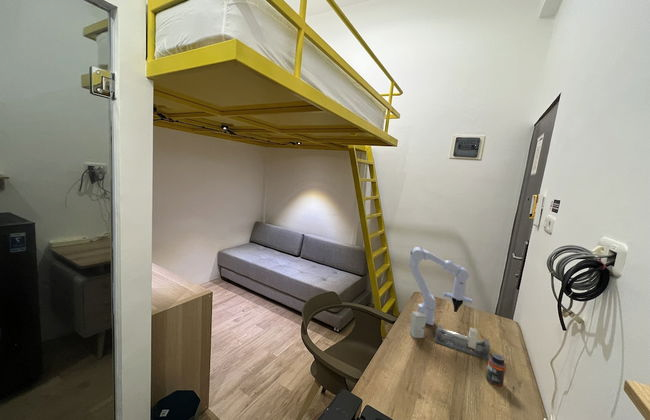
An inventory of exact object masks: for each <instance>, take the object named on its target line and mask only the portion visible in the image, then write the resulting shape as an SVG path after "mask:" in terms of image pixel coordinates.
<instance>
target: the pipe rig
mask: <svg viewBox="0 0 650 420" xmlns="http://www.w3.org/2000/svg"><path fill="white" fill-rule="evenodd" d="M434 330H435V332H434V334H435V335H434V343H436V344H439V345H442V346H445V347H448V348H451V349H453V350H456V351H460V352H463V353H466V354H468V355H471V356H473V357H474V356H475V357H477V358H481V359H484V360H486V361H489V358H491V357H492V356H491V355H490V348H491V344H490V340H489V339H486V338H483V339H478V338H477V342H476V348H475V349H473V348H470V347H468V343H467V341H468V342H469V337H468V335H464V334H461V333H457V332H455V331H452V330H449V329H445V328H443V326H442V325H441V324H437V327H436V328H435V329H434Z"/></svg>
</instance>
